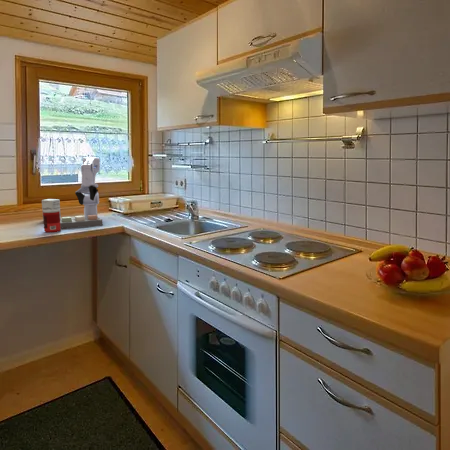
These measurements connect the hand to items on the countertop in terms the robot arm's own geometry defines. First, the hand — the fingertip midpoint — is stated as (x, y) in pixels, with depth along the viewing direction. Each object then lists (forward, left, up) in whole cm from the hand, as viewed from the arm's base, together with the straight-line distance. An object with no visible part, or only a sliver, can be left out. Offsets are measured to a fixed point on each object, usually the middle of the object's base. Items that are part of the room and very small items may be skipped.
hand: (86, 201), depth 219 cm
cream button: (-4, -3, -11) cm, 12 cm away
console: (-4, -3, -13) cm, 14 cm away
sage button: (-4, -10, -11) cm, 16 cm away
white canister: (-29, -14, -14) cm, 35 cm away
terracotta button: (-4, +4, -11) cm, 13 cm away
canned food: (+7, -19, -14) cm, 25 cm away
